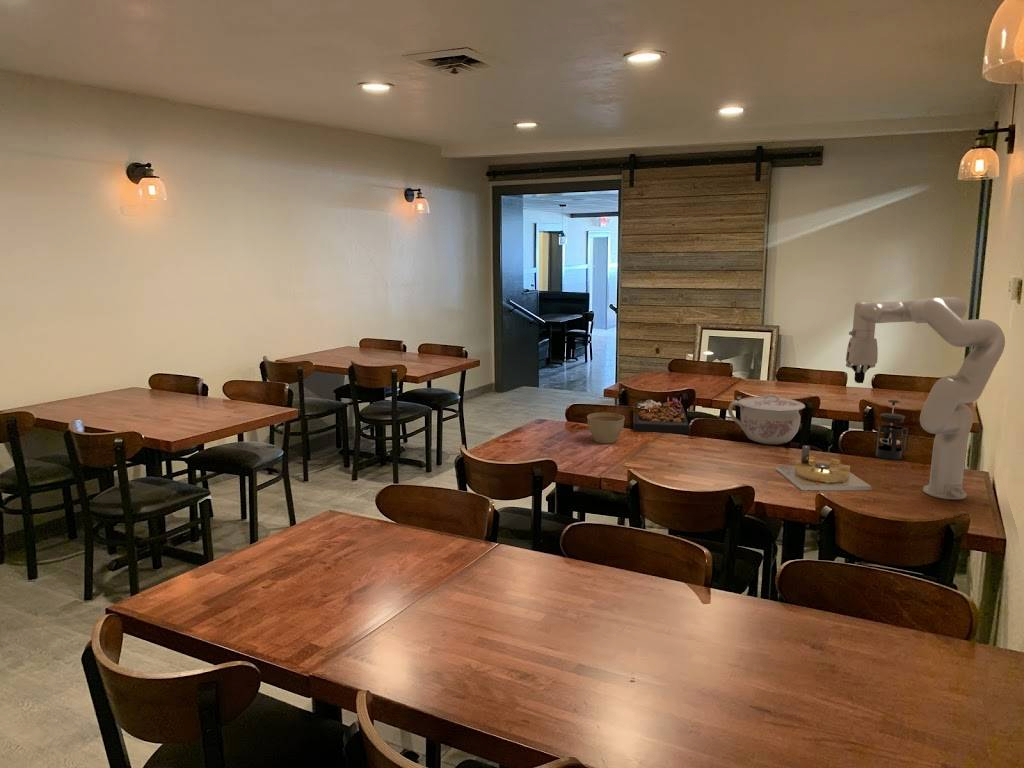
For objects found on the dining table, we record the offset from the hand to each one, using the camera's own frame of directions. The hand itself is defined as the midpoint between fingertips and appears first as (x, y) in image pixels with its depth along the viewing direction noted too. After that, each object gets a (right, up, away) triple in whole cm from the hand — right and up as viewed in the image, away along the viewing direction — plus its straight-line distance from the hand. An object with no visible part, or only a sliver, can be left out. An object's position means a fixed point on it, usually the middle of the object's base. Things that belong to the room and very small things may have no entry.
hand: (859, 382), depth 273 cm
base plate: (-20, -35, -13) cm, 42 cm away
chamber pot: (-20, -25, +40) cm, 52 cm away
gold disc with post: (-20, -34, -13) cm, 41 cm away
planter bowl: (-91, -26, +40) cm, 103 cm away
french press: (+20, -30, +16) cm, 39 cm away
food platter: (-60, -19, +76) cm, 99 cm away
